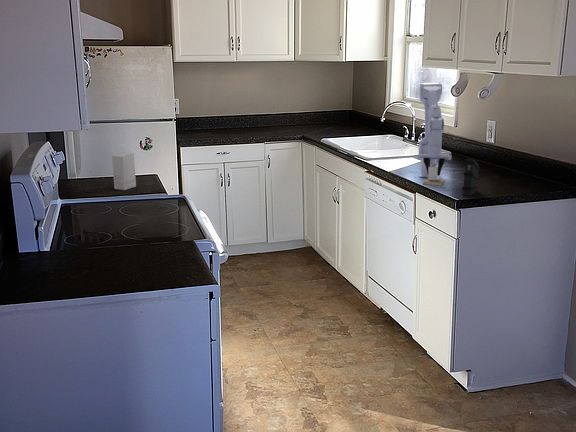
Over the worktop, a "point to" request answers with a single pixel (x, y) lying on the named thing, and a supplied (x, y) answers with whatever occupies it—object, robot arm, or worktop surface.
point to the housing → (433, 172)
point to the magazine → (470, 177)
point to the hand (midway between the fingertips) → (433, 174)
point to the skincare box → (124, 171)
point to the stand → (433, 182)
